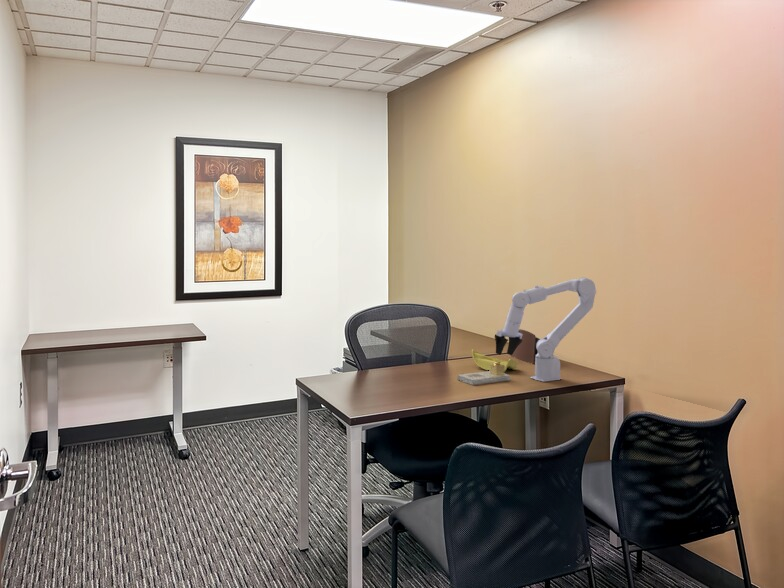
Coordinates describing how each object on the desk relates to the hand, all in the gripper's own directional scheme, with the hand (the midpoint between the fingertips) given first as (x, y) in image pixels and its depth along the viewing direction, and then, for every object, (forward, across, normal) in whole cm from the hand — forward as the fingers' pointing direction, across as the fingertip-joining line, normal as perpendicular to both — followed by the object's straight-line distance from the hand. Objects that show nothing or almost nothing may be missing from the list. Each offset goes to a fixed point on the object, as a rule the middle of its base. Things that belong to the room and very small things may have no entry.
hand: (503, 354), depth 247 cm
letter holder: (+6, -41, -13) cm, 44 cm away
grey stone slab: (+11, +7, 0) cm, 13 cm away
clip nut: (+8, +2, +1) cm, 8 cm away
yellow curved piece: (+11, -13, -12) cm, 21 cm away
